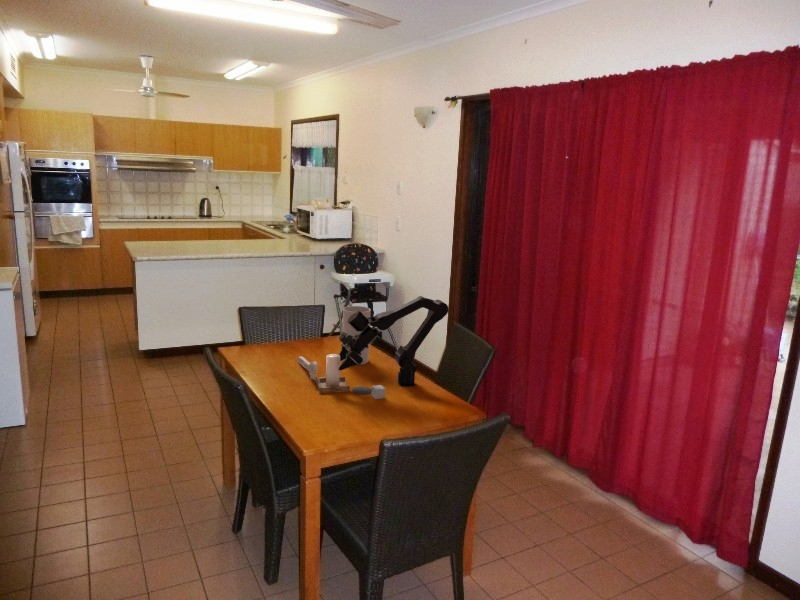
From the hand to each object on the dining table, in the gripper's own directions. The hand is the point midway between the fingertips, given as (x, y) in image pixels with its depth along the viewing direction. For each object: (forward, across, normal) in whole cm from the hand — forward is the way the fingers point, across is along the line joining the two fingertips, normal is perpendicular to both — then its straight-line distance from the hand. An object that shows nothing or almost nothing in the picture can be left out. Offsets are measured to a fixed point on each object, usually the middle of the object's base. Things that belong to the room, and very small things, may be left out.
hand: (337, 366), depth 234 cm
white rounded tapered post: (+7, 0, +4) cm, 8 cm away
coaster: (0, +6, +13) cm, 14 cm away
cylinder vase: (-3, -31, +16) cm, 35 cm away
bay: (+8, 0, +5) cm, 9 cm away
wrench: (+13, -18, -1) cm, 23 cm away
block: (-4, +13, +17) cm, 21 cm away
